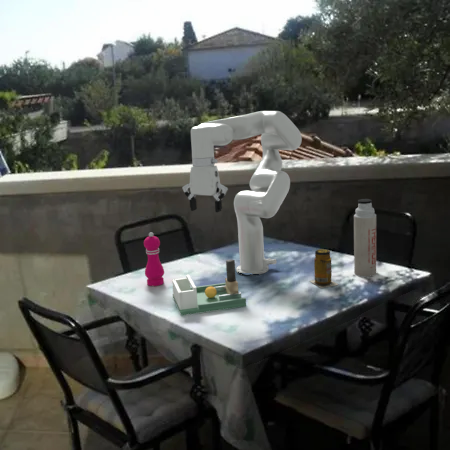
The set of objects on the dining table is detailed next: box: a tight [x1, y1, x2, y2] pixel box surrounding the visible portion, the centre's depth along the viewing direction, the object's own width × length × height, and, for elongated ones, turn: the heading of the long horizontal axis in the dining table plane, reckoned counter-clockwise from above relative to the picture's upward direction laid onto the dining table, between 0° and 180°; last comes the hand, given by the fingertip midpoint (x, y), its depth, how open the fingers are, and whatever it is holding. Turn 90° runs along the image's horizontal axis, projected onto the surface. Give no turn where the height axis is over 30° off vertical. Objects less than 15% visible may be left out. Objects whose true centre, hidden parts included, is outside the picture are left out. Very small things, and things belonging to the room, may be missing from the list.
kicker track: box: [214, 285, 242, 301], centre depth 218 cm, size 8×10×2 cm
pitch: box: [172, 282, 247, 316], centre depth 217 cm, size 22×18×3 cm
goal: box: [171, 274, 198, 310], centre depth 215 cm, size 6×14×7 cm, turn 13°
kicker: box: [224, 259, 239, 294], centre depth 217 cm, size 3×6×12 cm, turn 13°
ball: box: [205, 286, 217, 298], centre depth 217 cm, size 4×4×4 cm
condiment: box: [309, 248, 339, 289], centre depth 227 cm, size 7×8×12 cm
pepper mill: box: [143, 232, 165, 287], centre depth 236 cm, size 7×7×20 cm
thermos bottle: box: [353, 198, 377, 278], centre depth 232 cm, size 8×8×28 cm
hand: (205, 210), depth 222 cm, fingers open, 9 cm apart
